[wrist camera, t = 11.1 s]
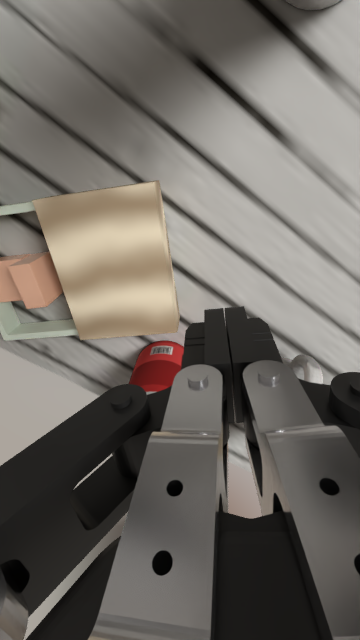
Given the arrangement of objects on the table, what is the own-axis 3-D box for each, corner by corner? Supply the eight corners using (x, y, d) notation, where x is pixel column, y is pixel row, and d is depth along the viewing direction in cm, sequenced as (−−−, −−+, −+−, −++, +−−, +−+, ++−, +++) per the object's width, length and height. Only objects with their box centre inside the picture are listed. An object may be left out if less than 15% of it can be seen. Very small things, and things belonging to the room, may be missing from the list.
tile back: (19, 258, 33) (31, 253, 35) (-20, 263, 33) (-6, 257, 36) (35, 298, 35) (45, 291, 37) (-2, 302, 36) (10, 294, 38)
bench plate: (51, 196, 31) (31, 200, 28) (159, 180, 30) (152, 182, 26) (91, 324, 39) (80, 340, 35) (179, 316, 37) (177, 332, 34)
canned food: (127, 360, 41) (103, 419, 32) (166, 328, 38) (153, 383, 29) (165, 391, 43) (153, 455, 34) (204, 363, 40) (204, 425, 31)
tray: (-37, 211, 33) (-58, 215, 30) (51, 198, 31) (38, 201, 29) (17, 329, 40) (4, 340, 37) (91, 322, 39) (83, 334, 36)
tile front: (51, 251, 34) (32, 253, 35) (29, 263, 30) (7, 266, 30) (65, 289, 37) (47, 292, 37) (47, 306, 32) (26, 308, 33)
